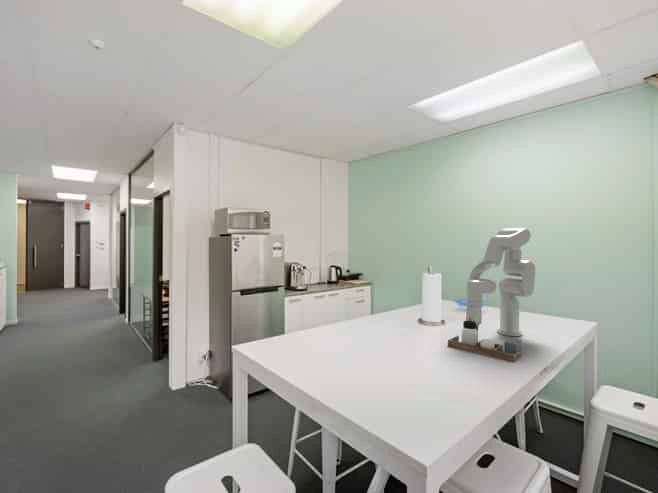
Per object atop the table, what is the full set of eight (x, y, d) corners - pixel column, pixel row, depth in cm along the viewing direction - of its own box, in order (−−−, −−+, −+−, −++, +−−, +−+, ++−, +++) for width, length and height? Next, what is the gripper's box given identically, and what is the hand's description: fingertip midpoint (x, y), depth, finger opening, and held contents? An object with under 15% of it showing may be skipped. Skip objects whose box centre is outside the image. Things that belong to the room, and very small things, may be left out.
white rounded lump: (483, 348, 154) (483, 338, 154) (496, 351, 150) (496, 341, 150) (478, 351, 150) (478, 341, 150) (491, 354, 146) (491, 344, 146)
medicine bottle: (478, 347, 156) (478, 323, 156) (462, 345, 158) (462, 322, 158) (476, 343, 162) (476, 320, 162) (461, 341, 165) (461, 318, 165)
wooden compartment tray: (457, 341, 166) (457, 335, 166) (521, 355, 145) (521, 349, 145) (447, 346, 158) (448, 340, 158) (514, 361, 137) (514, 355, 137)
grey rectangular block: (510, 348, 155) (510, 337, 155) (521, 350, 152) (521, 340, 152) (504, 352, 149) (504, 341, 149) (516, 355, 145) (516, 344, 145)
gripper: (472, 300, 173) (472, 334, 174) (461, 304, 163) (461, 339, 163) (487, 302, 168) (486, 337, 168) (476, 306, 158) (476, 343, 158)
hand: (474, 338), depth 166 cm, fingers closed
